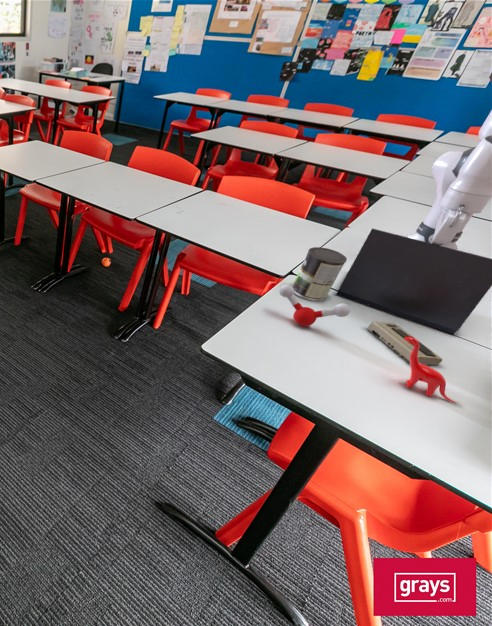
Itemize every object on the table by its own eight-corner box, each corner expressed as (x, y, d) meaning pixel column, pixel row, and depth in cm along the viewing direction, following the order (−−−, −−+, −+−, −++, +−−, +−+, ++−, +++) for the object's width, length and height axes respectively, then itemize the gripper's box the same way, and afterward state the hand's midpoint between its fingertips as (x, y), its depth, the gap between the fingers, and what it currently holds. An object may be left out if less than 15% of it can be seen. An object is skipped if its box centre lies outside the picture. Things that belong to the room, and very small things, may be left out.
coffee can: (286, 292, 138) (304, 253, 130) (296, 281, 144) (314, 244, 136) (321, 305, 132) (342, 265, 124) (330, 293, 138) (350, 255, 130)
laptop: (349, 273, 150) (351, 268, 149) (457, 307, 134) (461, 302, 133) (335, 294, 138) (338, 289, 136) (453, 334, 121) (457, 329, 120)
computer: (439, 365, 109) (447, 355, 107) (410, 365, 109) (418, 356, 107) (392, 329, 122) (398, 320, 120) (366, 329, 122) (371, 320, 120)
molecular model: (337, 333, 119) (354, 304, 114) (332, 341, 116) (349, 312, 110) (272, 308, 129) (284, 280, 124) (266, 315, 126) (279, 286, 120)
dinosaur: (456, 408, 97) (492, 368, 90) (378, 378, 104) (405, 339, 97) (455, 399, 99) (490, 359, 92) (379, 370, 107) (406, 331, 100)
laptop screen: (372, 228, 126) (372, 228, 125) (508, 262, 109) (508, 263, 109) (338, 290, 136) (337, 290, 136) (457, 330, 120) (457, 331, 119)
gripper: (478, 214, 104) (444, 263, 111) (479, 196, 116) (448, 242, 124) (445, 207, 107) (414, 255, 115) (450, 190, 120) (421, 235, 127)
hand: (432, 248), depth 120 cm, fingers closed
